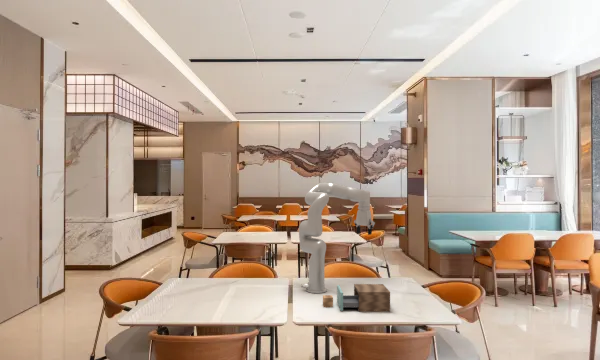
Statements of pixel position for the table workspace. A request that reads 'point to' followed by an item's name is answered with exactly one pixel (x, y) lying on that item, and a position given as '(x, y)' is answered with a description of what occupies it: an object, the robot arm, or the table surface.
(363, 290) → the cabinet
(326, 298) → the cube
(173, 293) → the table surface
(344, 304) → the teal drawer
